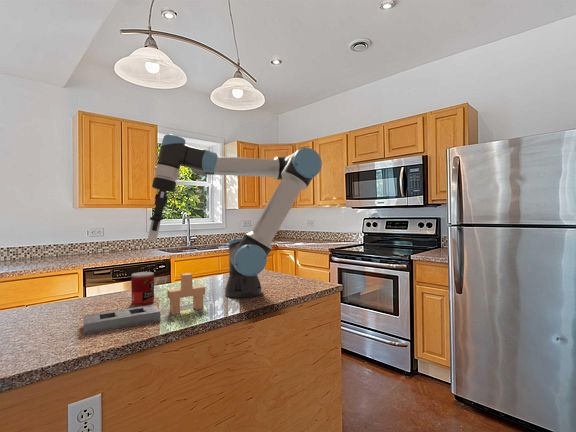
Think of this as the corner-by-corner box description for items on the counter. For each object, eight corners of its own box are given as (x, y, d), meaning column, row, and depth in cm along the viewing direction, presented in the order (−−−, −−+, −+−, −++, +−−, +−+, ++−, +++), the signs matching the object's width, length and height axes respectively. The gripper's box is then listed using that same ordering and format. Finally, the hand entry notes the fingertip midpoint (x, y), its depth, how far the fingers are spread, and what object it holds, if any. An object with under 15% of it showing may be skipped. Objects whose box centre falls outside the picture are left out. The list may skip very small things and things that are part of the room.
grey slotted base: (154, 313, 105) (154, 304, 105) (160, 320, 98) (160, 311, 98) (83, 325, 94) (83, 315, 94) (84, 335, 86) (84, 324, 86)
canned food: (145, 306, 114) (145, 275, 114) (126, 304, 115) (126, 275, 115) (158, 300, 121) (158, 272, 121) (140, 299, 123) (140, 271, 123)
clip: (202, 305, 113) (201, 271, 113) (205, 308, 110) (205, 272, 110) (167, 311, 107) (167, 275, 107) (170, 314, 104) (169, 277, 104)
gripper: (154, 179, 119) (142, 233, 118) (153, 172, 96) (138, 240, 95) (174, 184, 122) (163, 237, 121) (178, 178, 99) (164, 244, 98)
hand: (152, 238), depth 108 cm, fingers open, 13 cm apart
